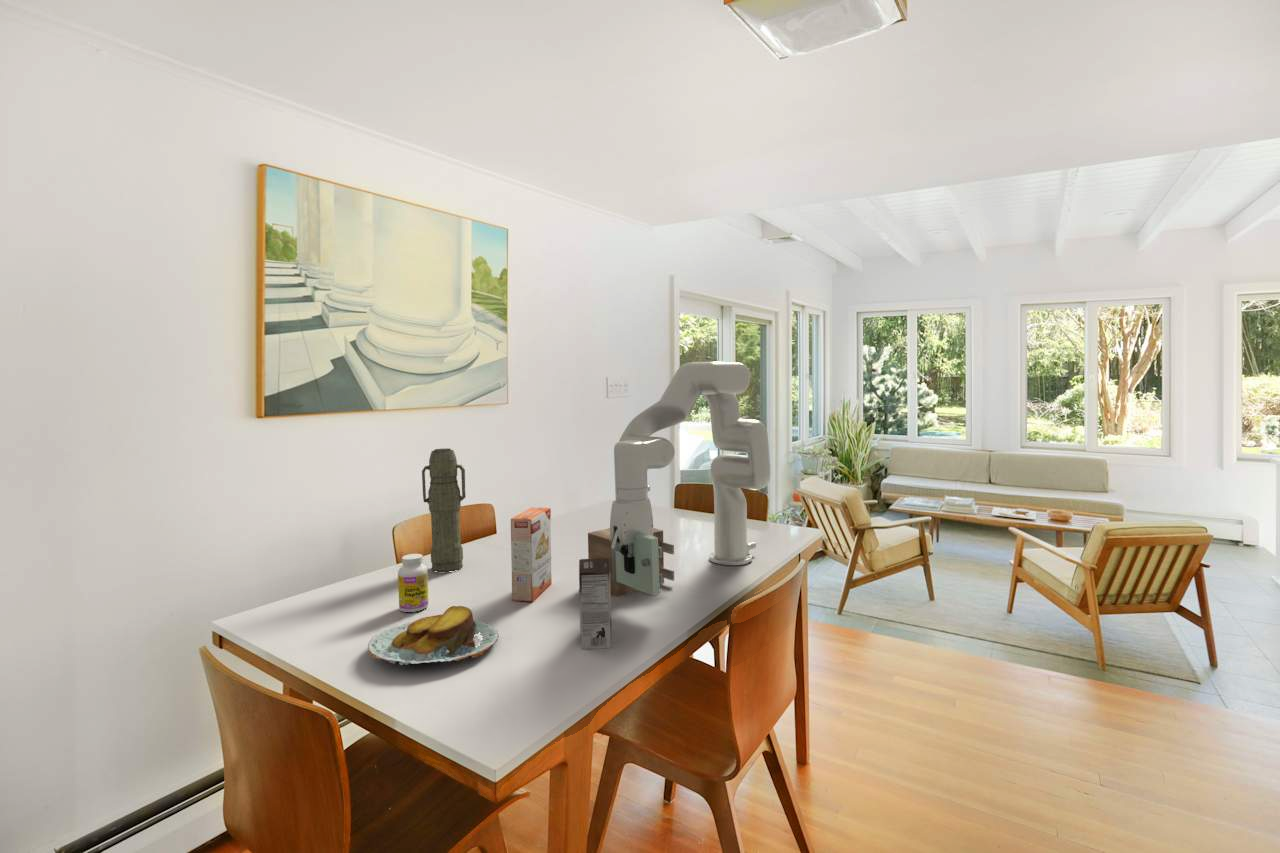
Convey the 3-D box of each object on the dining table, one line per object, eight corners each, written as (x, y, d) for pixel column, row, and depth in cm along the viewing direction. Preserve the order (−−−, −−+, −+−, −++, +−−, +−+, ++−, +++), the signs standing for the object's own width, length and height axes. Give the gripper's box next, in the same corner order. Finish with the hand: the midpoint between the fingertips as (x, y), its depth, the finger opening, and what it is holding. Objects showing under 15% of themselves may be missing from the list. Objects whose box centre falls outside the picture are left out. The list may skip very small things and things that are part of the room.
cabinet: (635, 571, 173) (634, 522, 172) (674, 585, 161) (674, 533, 160) (589, 584, 163) (587, 532, 162) (627, 600, 150) (626, 544, 149)
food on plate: (362, 641, 130) (360, 611, 130) (478, 616, 143) (477, 589, 143) (379, 692, 109) (378, 656, 108) (515, 658, 121) (514, 625, 121)
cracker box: (534, 603, 150) (531, 519, 148) (511, 601, 151) (508, 518, 150) (553, 584, 164) (551, 506, 162) (532, 582, 165) (530, 506, 163)
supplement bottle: (401, 615, 143) (398, 562, 142) (397, 606, 149) (395, 555, 148) (430, 610, 146) (428, 557, 145) (426, 601, 152) (424, 551, 151)
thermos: (470, 570, 177) (465, 449, 174) (427, 575, 173) (421, 452, 170) (467, 561, 185) (462, 446, 182) (425, 566, 181) (420, 449, 178)
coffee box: (580, 631, 133) (579, 558, 131) (610, 629, 133) (609, 557, 132) (580, 649, 124) (578, 571, 122) (612, 648, 124) (610, 570, 123)
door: (618, 577, 151) (616, 525, 149) (660, 593, 139) (658, 537, 138) (607, 580, 148) (605, 528, 147) (649, 597, 137) (647, 540, 136)
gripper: (646, 486, 150) (648, 559, 152) (594, 497, 140) (597, 575, 142) (667, 490, 144) (669, 566, 146) (614, 502, 134) (617, 583, 136)
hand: (634, 570), depth 144 cm, fingers closed on door, 2 cm apart
